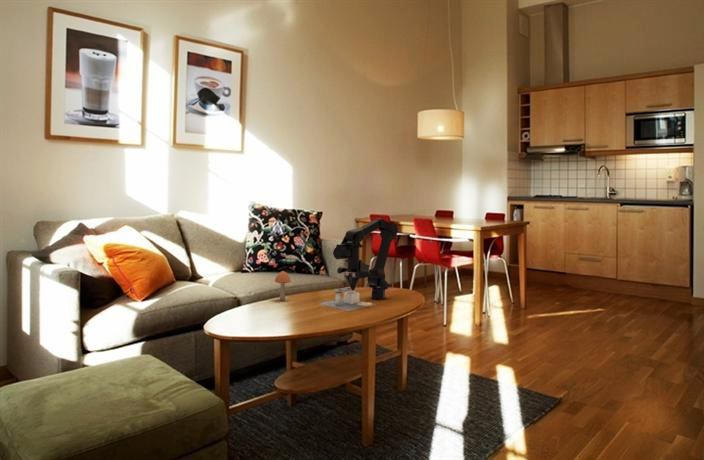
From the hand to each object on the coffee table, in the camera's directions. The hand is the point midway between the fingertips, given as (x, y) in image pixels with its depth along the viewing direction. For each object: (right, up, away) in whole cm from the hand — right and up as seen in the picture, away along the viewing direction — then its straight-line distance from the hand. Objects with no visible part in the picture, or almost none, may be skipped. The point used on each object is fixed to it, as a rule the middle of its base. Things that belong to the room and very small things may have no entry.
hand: (353, 290), depth 240 cm
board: (-3, -8, 0) cm, 8 cm away
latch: (-4, 0, -1) cm, 4 cm away
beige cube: (-1, -6, +3) cm, 7 cm away
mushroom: (-35, -7, +12) cm, 37 cm away
